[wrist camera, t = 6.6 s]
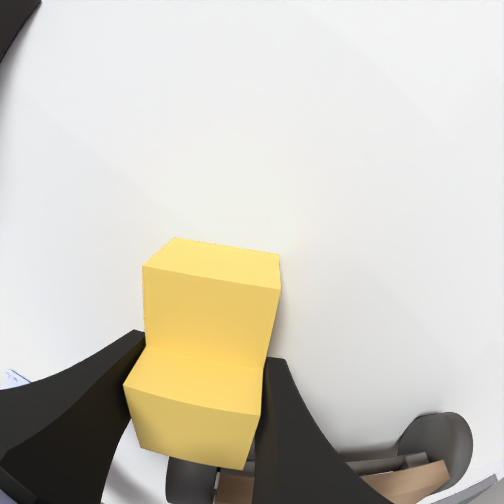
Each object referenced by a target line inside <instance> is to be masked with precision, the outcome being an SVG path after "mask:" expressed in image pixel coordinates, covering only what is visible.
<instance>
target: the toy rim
mask: <svg viewBox="0 0 504 504" xmlns="http://www.w3.org/2000/svg"><path fill="white" fill-rule="evenodd" d="M497 481H498V480H497V477H496V475H495V474H494V475H492V476H491V477H489V478H487V479H485V480H483V481H481V482H479V483H478V484H476V485H474V486H472V487H470V488H467V489H465V490H463V491H461V492H459V493H457V494H454V495H452V496H450V497H447V498H445V499H442V500H440V501H437V502H434V503H432V504H457V503H458V504H460V502H461V504H467V503H469V502H470V501H472V500H473V499H475V498H476V497H477V496H479V495H480V494H482V493H483V492H484V491H486V490H487V489H488V488H490V487H491V486H492V485H494V484H495V483H496V482H497Z"/></svg>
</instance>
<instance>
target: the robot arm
mask: <svg viewBox="0 0 504 504" xmlns="http://www.w3.org/2000/svg"><path fill="white" fill-rule="evenodd" d="M145 347H146V338H145V332H141V331H138V330H132V331H130V332H129V333H127V334H126V335H124V336H122V337H121V338H119V339H118V340H116V341H115V342H113V343H112V344H110V345H108V346H107V347H105V348H104V349H102V350H100V351H99V352H97V353H95V354H94V355H92V356H90V357H88V358H87V359H85V360H83V361H81V362H79V363H77V364H76V365H74V366H72V367H70V368H68V369H66V370H64V371H61V372H59V373H57V374H54V375H52V376H49V377H47V378H44V379H41V380H38V381H35V382H32V383H30V382H28V381H27V380H25V379H24V378H22V377H20V376H19V375H17V374H16V373H14V372H13V371H12V370H10V369H8V370H7V374H8V376H9V379H8V380H7V381H6V382H5V383H4V384H3V385H2V387H1V388H0V504H100V502H101V498H102V494H103V490H104V486H105V482H106V478H107V475H108V472H109V468H110V465H111V462H112V459H113V457H114V454H115V451H116V448H117V445H118V443H119V441H120V439H121V436H122V435H123V433H124V431H125V429H126V427H127V425H128V423H129V421H130V419H131V415H130V411H129V407H128V404H127V400H126V396H125V392H124V388H123V384H124V382H125V381H126V379H127V377H128V375H129V374H130V372H131V370H132V369H133V367H134V365H135V364H136V362H137V360H138V359H139V357H140V355H141V354H142V352H143V350H144V349H145ZM251 504H394V503H393V502H391V501H390V500H388V499H387V498H385V497H384V496H382V495H381V494H380V493H378V492H377V491H376V490H375V489H373V488H372V487H371V486H370V485H369V484H367V483H366V482H365V481H364V480H363V479H362V478H361V477H360V476H359V475H358V474H357V473H356V472H355V471H354V470H353V469H352V468H351V467H350V466H349V465H348V464H347V463H346V462H345V461H344V460H343V459H342V458H341V457H340V455H339V454H338V453H337V452H336V451H335V449H334V448H333V447H332V446H331V444H330V443H329V442H328V440H327V439H326V438H325V436H324V435H323V433H322V432H321V430H320V429H319V427H318V426H317V424H316V422H315V421H314V419H313V418H312V416H311V414H310V412H309V411H308V409H307V407H306V405H305V403H304V401H303V399H302V397H301V396H300V394H299V391H298V389H297V387H296V385H295V383H294V380H293V378H292V376H291V373H290V371H289V368H288V365H287V362H286V361H285V359H281V358H273V357H267V359H266V363H265V367H264V371H263V378H262V397H261V414H260V419H259V422H258V425H257V428H256V431H255V478H254V487H253V495H252V503H251Z"/></svg>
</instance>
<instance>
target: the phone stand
mask: <svg viewBox="0 0 504 504" xmlns="http://www.w3.org/2000/svg"><path fill="white" fill-rule="evenodd" d="M40 1H41V0H0V61H1V60H2V58H3V56H4V54H5V53H6V51H7V49H8V47H9V46H10V44H11V42H12V41H13V39H14V38H15V36H16V35H17V33H18V32H19V30H20V29H21V27H22V26H23V24H24V23H25V21H26V20H27V19H28V17H29V16H30V14H31V13H32V12H33V10H34V9H35V8H36V6H37V5H38V4H39V3H40Z"/></svg>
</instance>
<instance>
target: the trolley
mask: <svg viewBox="0 0 504 504" xmlns="http://www.w3.org/2000/svg"><path fill="white" fill-rule="evenodd" d="M472 452H473V438H472V433H471V430H470V427H469V425H468V423H467V422H466V421H465V419H464V418H463V417H462V416H460V415H459V414H457V413H454V412H444V413H439V414H433V415H427V416H422V417H420V418H418V419H416V420H415V421H413V422H412V423H411V424H410V425H409V427H408V428H407V429H406V431H405V433H404V435H403V437H402V439H401V442H400V445H399V448H398V453H397V456H394V457H388V458H381V459H373V460H364V461H353V462H346V463H347V464H348V465H349V466H350V467H351V468H352V469H353V470H354V471H355V472H356V473H357V474H358V475H359V476H364V475H372V474H378V473H385V472H390V471H393V472H391V473H385V474H379V475H372V476H365V477H361V478H362V479H363V480H364V481H365V482H366V483H367V484H369V485H370V486H371V487H372V488H373V489H375V490H376V491H377V492H378V493H380V494H381V495H382V496H384V497H385V498H387V499H388V500H390V501H391V502H393V503H394V504H416V503H417V502H419V501H421V500H422V499H423V498H425V497H427V496H429V495H432V494H435V493H438V492H441V491H443V490H446V489H448V488H450V487H452V486H454V485H455V484H456V483H457V482H458V481H459V480H460V479H461V478H462V477H463V475H464V474H465V472H466V470H467V469H468V466H469V464H470V461H471V457H472ZM217 472H220V477H219V483H218V488H217V494H216V500H215V504H251V503H252V495H253V487H254V477H255V460H249V459H246V462H245V465H244V468H243V470H237V469H230V468H223V467H217V466H211V465H206V464H201V463H196V462H191V461H187V460H183V459H179V458H175V457H171V456H169V461H168V467H167V474H166V487H165V492H166V499H167V502H168V503H172V504H213V499H214V493H215V491H214V486H215V480H216V475H217Z"/></svg>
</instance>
